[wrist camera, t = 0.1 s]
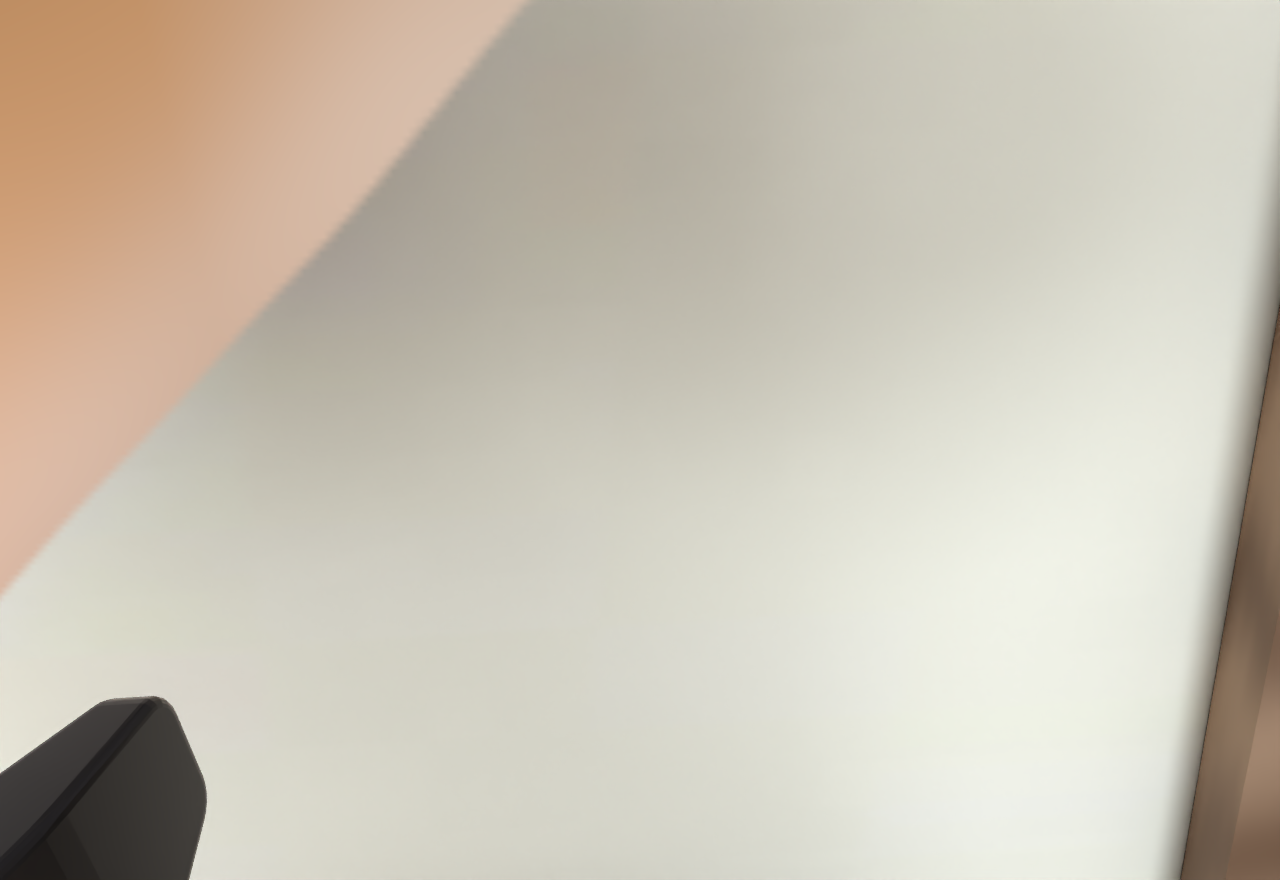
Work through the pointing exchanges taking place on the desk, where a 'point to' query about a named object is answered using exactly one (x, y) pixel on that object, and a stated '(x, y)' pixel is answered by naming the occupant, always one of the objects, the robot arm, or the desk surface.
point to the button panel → (1246, 688)
